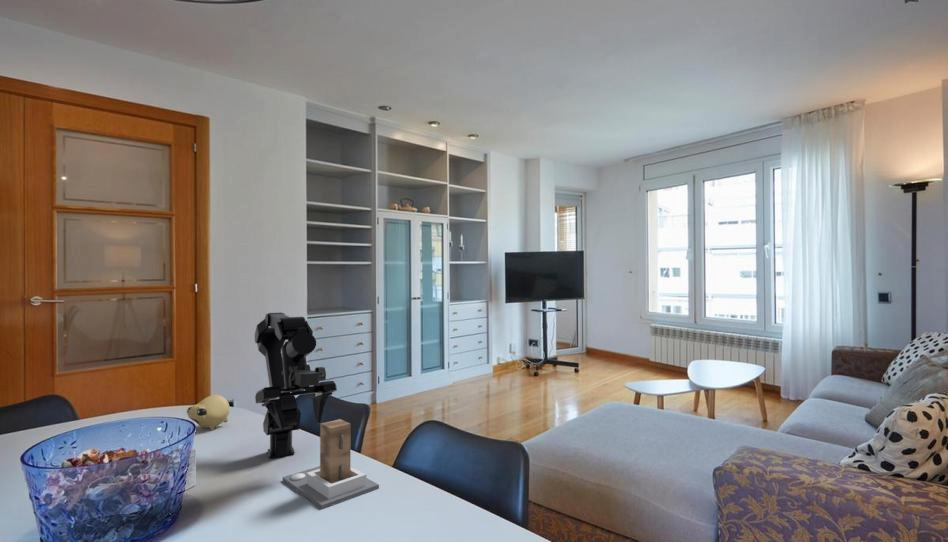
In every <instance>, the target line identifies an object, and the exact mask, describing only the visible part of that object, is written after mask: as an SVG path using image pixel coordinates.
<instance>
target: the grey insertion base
mask: <svg viewBox="0 0 948 542" xmlns="http://www.w3.org/2000/svg"><path fill="white" fill-rule="evenodd" d="M282 481H283V482H284V483H285V484H287V485H288V486H289V487H290V488H292V489H294V490H295V491H296V492H298V493H299V494H300V495H301V496H303V497H304V498H306V499H307V500H309V501H310V502H312V503H313V504H314V505H316V506H317V507H318V508H319V509H321V510H322V509H326V508H329V507H331V506H332V507H333V506H334V505H337V504H340V503H342V502H344V501H347V500H350V499H353V498H356V497H358V496H361V495H364V494H367V493H369V492H372V491H375V490H377V489H379V488H380V485H379V483H377V482H375V481H373V480H371V479H369V478H367V474H365V472H362V471H360V470H358V469H356V468H354V467H352V466H351V465H350V478H347V479H344V480H341V481H338V482H335V483H332V484H331V483H329V482H328V481H326V480H324V479H323V478H321V477H320V465H319V466H315V467H313V468H312V467H311V468H308V469H305V470H302V471H299V472H295V473H292V474H288V475H286V476H283V477H282Z"/></svg>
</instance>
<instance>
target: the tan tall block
mask: <svg viewBox="0 0 948 542" xmlns="http://www.w3.org/2000/svg"><path fill="white" fill-rule="evenodd" d="M319 425H320V426H319V427H320V431H319V435H320V436H319V442H320V443H319V445H320V446H319V451H320V452H319V466H320V477H321V478H323V479H324V480H326V481H328V482H329V483H331V484H332V483H335V482H338V481H341V480H344V479H347V478H350V466H351V453H352V452H351V449H352V448H351V443H352V441H351V440H352V439H351V433H352V432H351V431H352V426H351V423H350V422H348V421H346V420H343V419H341V418H338V419H335V420H331V421H330V420H329V421H326V422H320V424H319Z"/></svg>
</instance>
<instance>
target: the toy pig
mask: <svg viewBox="0 0 948 542" xmlns="http://www.w3.org/2000/svg"><path fill="white" fill-rule="evenodd" d="M230 409H231V407H230V404H229V401H228V400H227V399H226V398H225V397H224V396H222V395H220V394H211V395H208V396H207V397H204V398H203V399H202V400H201V401H199V402H198V403H197V404H192V406H189V407H187V409H186V413H187V417H188V419H190V420H192V421H193V422H195V423H196V424H197V425H198V426H199V427H200V428H205V429H209V430H210V431H213V430H215V428H216V426H219V425H221V424H223V423H227V422H228V421H229V418H228V417H229V414H230V412H231V411H230Z"/></svg>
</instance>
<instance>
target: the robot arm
mask: <svg viewBox="0 0 948 542" xmlns="http://www.w3.org/2000/svg"><path fill="white" fill-rule="evenodd" d="M313 331H314V330H313V329H312V328H311V326H310V325H309V323H308V320H306V318H305V317H304V316H289V315H286V313H284V312H268V313H266V314H265V316H264V319H263V320H261V321H260V322H259V323H258V324H257V325H256V328H255V332H254V344H257V351H258V352H260V354H262V355H263V356H264V358H265V365H266V371H267V378H268V384H269V386H266V387H263V388H261V389H260V390H258V391H256V393H255V397H254V398H255V404H261V407H265V408H266V409H267V410H266V413H265V416H264V420H263V423H262V427H263V429H262V430H263V433H265V435H266V436H269V448H268V449H267V455H268V459H272V458H273V459H274V458H279V457H285V455H287V456H291V455H290V454H293V455H295V454H294V453H295V452H296V451H295V450H294V447H293V431H298V430H300V424H301V417H302V412H301V411H300V408H299V407H298V404H297V398H296V396H301V395H309V394H312V395H314V397H313V398H311V399H312V406H313V412H314V418H315V422H316V424H317V425H320V423H322V421H321V420H322V417H323V412H324V408H325V405H326V402H327V400H328V398H329V397H330V396H332V395H333V393H335V392H337V391H338V390H337V389H338V388H337V383H336V382H335V381H334V380H326V378H327V373H326V372H327V371H326V367H324V366H318V367H315V369H314V370H311V366H310V364H308V362H307V357H308V356H309V355H310V354H311V353H312V352H313V351H315V349H316V346H317V339H316V338H315V336H314V334H313V333H314V332H313ZM320 381H321V382H320Z"/></svg>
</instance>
